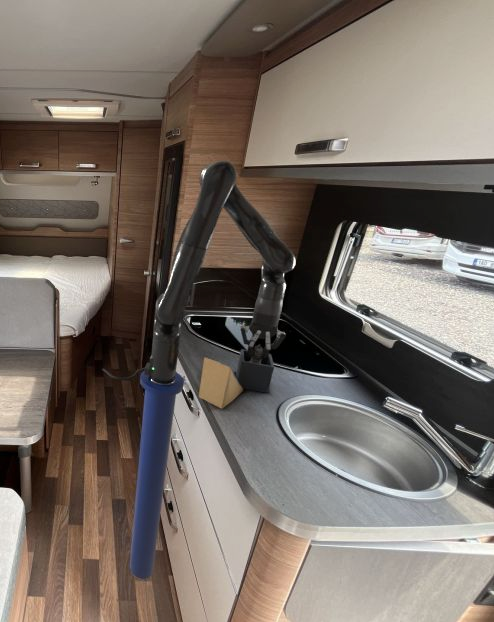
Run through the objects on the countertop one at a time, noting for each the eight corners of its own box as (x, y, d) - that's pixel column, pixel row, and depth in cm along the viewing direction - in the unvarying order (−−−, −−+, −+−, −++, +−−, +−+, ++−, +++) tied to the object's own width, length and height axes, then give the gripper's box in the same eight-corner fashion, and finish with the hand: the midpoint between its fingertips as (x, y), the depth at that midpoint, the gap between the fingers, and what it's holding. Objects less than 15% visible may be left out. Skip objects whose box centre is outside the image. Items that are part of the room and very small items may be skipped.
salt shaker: (241, 369, 120) (247, 339, 116) (258, 370, 120) (265, 340, 115) (247, 378, 115) (254, 347, 110) (265, 379, 114) (272, 348, 110)
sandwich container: (244, 390, 114) (253, 351, 109) (222, 409, 105) (230, 368, 99) (220, 379, 120) (227, 342, 115) (197, 396, 111) (204, 357, 105)
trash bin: (236, 386, 116) (241, 361, 112) (236, 372, 124) (241, 348, 121) (267, 393, 113) (274, 367, 109) (265, 378, 121) (271, 354, 117)
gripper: (290, 309, 109) (278, 355, 115) (243, 303, 114) (234, 348, 120) (294, 317, 102) (281, 366, 109) (243, 310, 107) (234, 357, 114)
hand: (256, 356), depth 115 cm, fingers closed on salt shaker, 3 cm apart
